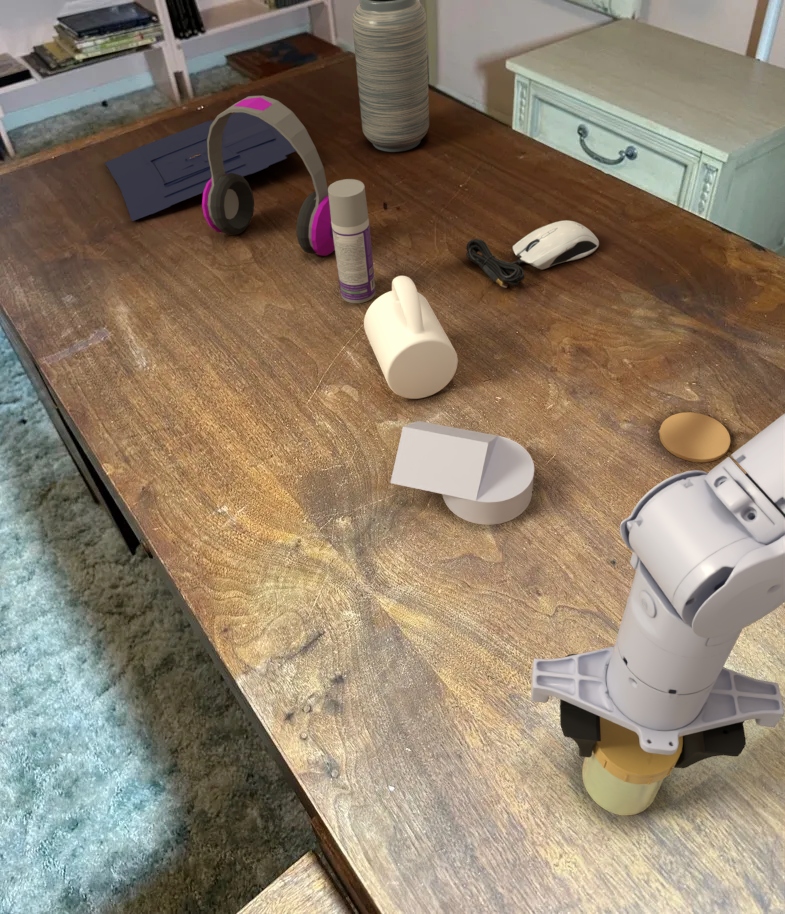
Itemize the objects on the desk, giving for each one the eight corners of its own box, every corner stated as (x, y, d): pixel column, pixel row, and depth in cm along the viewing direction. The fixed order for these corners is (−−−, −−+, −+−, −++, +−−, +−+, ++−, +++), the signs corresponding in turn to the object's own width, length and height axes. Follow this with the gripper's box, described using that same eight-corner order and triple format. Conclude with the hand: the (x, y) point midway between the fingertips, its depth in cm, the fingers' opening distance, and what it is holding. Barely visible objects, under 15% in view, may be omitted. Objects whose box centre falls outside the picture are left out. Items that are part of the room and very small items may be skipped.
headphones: (354, 239, 112) (338, 99, 98) (323, 270, 107) (302, 127, 92) (238, 214, 119) (208, 80, 105) (204, 241, 114) (168, 105, 100)
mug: (389, 406, 86) (381, 320, 78) (366, 353, 93) (357, 267, 85) (458, 390, 88) (458, 302, 79) (430, 338, 95) (427, 252, 86)
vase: (350, 147, 133) (334, -1, 117) (390, 122, 140) (380, -22, 123) (403, 162, 128) (394, 9, 112) (442, 135, 134) (440, -13, 118)
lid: (588, 696, 54) (591, 685, 53) (673, 705, 54) (678, 694, 52) (590, 779, 51) (593, 769, 49) (682, 790, 50) (688, 780, 48)
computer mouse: (614, 254, 105) (618, 228, 102) (502, 296, 100) (504, 270, 97) (570, 223, 111) (572, 197, 108) (462, 261, 106) (462, 235, 103)
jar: (655, 748, 58) (675, 703, 53) (658, 821, 54) (680, 782, 49) (583, 736, 59) (595, 692, 54) (581, 808, 55) (593, 768, 50)
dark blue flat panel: (311, 168, 126) (305, 147, 123) (139, 237, 121) (129, 217, 118) (264, 116, 142) (258, 97, 139) (111, 176, 137) (101, 157, 134)
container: (356, 279, 105) (344, 175, 94) (382, 290, 102) (373, 184, 92) (333, 296, 102) (318, 190, 91) (360, 307, 100) (347, 200, 89)
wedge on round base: (392, 505, 76) (521, 533, 73) (387, 459, 72) (525, 486, 68) (419, 443, 82) (539, 466, 79) (416, 396, 77) (545, 419, 74)
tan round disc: (726, 418, 82) (727, 415, 81) (732, 466, 77) (733, 462, 77) (658, 412, 83) (658, 409, 83) (660, 458, 78) (661, 455, 78)
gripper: (537, 699, 41) (521, 793, 51) (823, 730, 39) (750, 822, 49) (539, 590, 46) (524, 695, 56) (794, 613, 44) (732, 717, 54)
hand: (629, 748), depth 53 cm, fingers closed on lid, 5 cm apart
